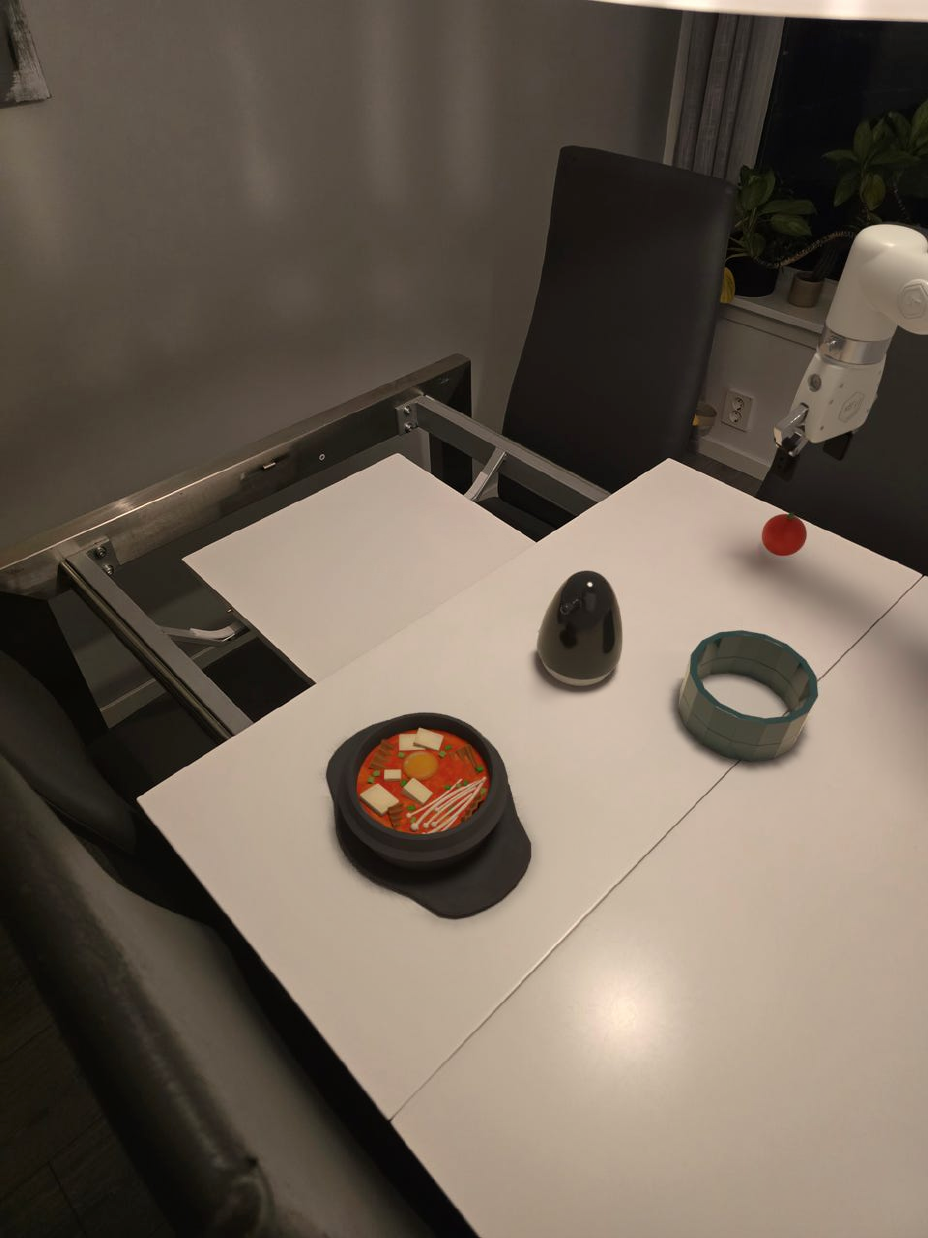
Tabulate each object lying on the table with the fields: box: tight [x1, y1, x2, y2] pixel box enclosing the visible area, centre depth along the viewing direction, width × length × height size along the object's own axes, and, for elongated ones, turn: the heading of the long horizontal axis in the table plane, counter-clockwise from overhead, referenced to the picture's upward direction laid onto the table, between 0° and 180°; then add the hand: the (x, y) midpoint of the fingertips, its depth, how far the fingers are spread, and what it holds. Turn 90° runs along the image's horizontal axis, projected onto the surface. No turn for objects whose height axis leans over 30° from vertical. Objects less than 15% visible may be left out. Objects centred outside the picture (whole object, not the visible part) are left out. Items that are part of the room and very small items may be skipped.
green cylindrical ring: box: [677, 629, 819, 762], centre depth 89 cm, size 14×14×8 cm
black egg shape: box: [536, 569, 624, 687], centre depth 92 cm, size 10×10×15 cm
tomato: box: [761, 512, 808, 557], centre depth 112 cm, size 6×6×7 cm
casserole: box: [325, 711, 532, 917], centre depth 80 cm, size 25×19×8 cm
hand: (806, 465), depth 104 cm, fingers open, 9 cm apart
